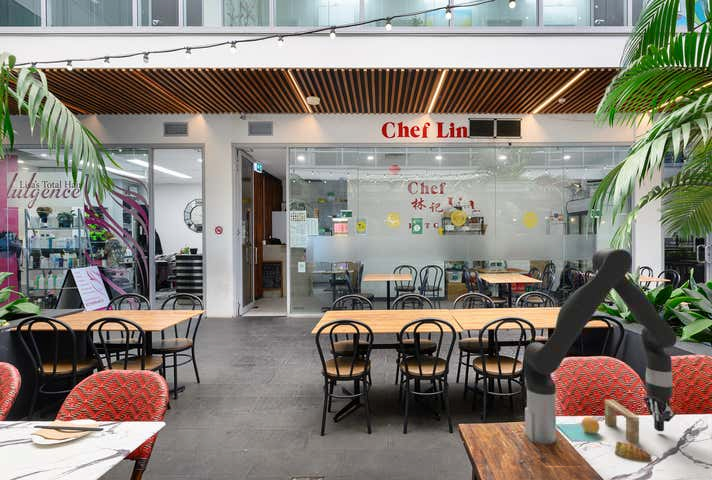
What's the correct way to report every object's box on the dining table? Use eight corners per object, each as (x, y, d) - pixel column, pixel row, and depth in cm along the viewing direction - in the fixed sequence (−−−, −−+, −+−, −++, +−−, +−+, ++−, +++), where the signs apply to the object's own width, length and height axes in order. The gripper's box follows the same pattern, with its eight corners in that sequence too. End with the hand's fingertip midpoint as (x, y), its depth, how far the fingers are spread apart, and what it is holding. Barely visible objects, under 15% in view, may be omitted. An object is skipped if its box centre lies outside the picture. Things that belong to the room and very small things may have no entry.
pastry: (651, 457, 124) (651, 445, 124) (650, 467, 119) (650, 454, 119) (616, 448, 130) (615, 437, 130) (614, 457, 125) (613, 445, 125)
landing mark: (571, 441, 134) (571, 440, 134) (556, 424, 146) (556, 424, 146) (607, 442, 134) (607, 441, 134) (589, 425, 146) (589, 424, 146)
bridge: (629, 444, 132) (629, 417, 132) (605, 423, 146) (604, 399, 146) (639, 444, 132) (638, 417, 132) (613, 424, 146) (613, 399, 146)
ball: (603, 421, 137) (602, 437, 137) (594, 414, 142) (593, 429, 142) (586, 420, 137) (586, 436, 137) (578, 413, 143) (578, 428, 143)
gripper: (635, 374, 145) (635, 421, 145) (661, 388, 132) (661, 439, 132) (656, 375, 145) (656, 421, 145) (684, 389, 131) (684, 440, 131)
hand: (659, 430), depth 138 cm, fingers closed
